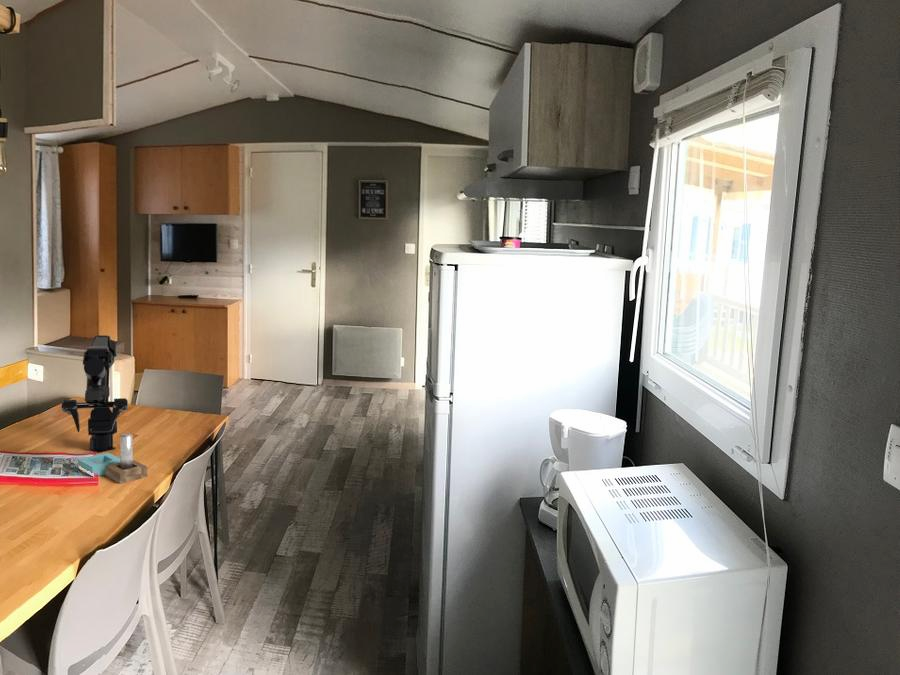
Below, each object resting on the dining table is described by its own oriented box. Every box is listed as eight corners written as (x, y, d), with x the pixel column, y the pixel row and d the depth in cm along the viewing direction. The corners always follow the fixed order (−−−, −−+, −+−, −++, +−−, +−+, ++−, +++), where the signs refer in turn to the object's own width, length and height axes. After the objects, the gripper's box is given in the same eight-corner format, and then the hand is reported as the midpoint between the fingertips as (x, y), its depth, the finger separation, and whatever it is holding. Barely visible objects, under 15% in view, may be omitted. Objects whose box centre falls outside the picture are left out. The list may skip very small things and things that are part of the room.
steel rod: (129, 473, 218) (129, 432, 216) (134, 476, 216) (134, 435, 214) (118, 476, 215) (118, 435, 213) (124, 479, 213) (123, 437, 211)
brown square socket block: (132, 469, 222) (132, 459, 221) (147, 476, 216) (147, 466, 216) (105, 476, 214) (105, 465, 214) (120, 483, 209) (120, 473, 209)
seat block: (107, 462, 226) (107, 452, 226) (123, 469, 220) (123, 459, 220) (77, 469, 218) (77, 459, 218) (92, 477, 212) (92, 467, 212)
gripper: (60, 378, 205) (57, 427, 200) (127, 377, 213) (126, 424, 208) (65, 387, 215) (62, 434, 210) (128, 386, 222) (127, 431, 218)
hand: (94, 431), depth 211 cm, fingers open, 9 cm apart
